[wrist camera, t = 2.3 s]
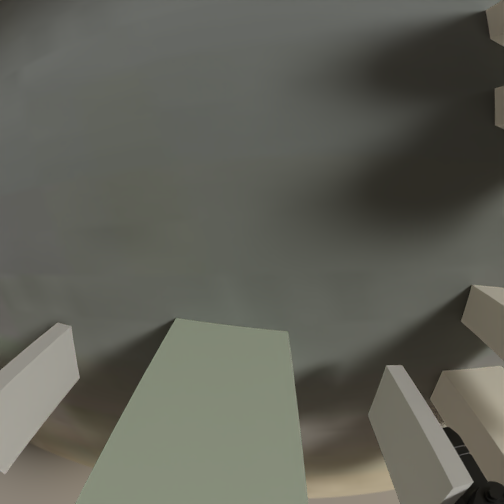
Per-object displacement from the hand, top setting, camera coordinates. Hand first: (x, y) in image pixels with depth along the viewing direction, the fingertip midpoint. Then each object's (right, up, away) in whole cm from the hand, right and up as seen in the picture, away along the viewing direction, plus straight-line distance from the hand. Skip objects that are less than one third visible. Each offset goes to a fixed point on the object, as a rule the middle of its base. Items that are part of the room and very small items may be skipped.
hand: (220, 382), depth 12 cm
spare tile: (0, +1, +2) cm, 3 cm away
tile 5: (+14, -3, +3) cm, 14 cm away
